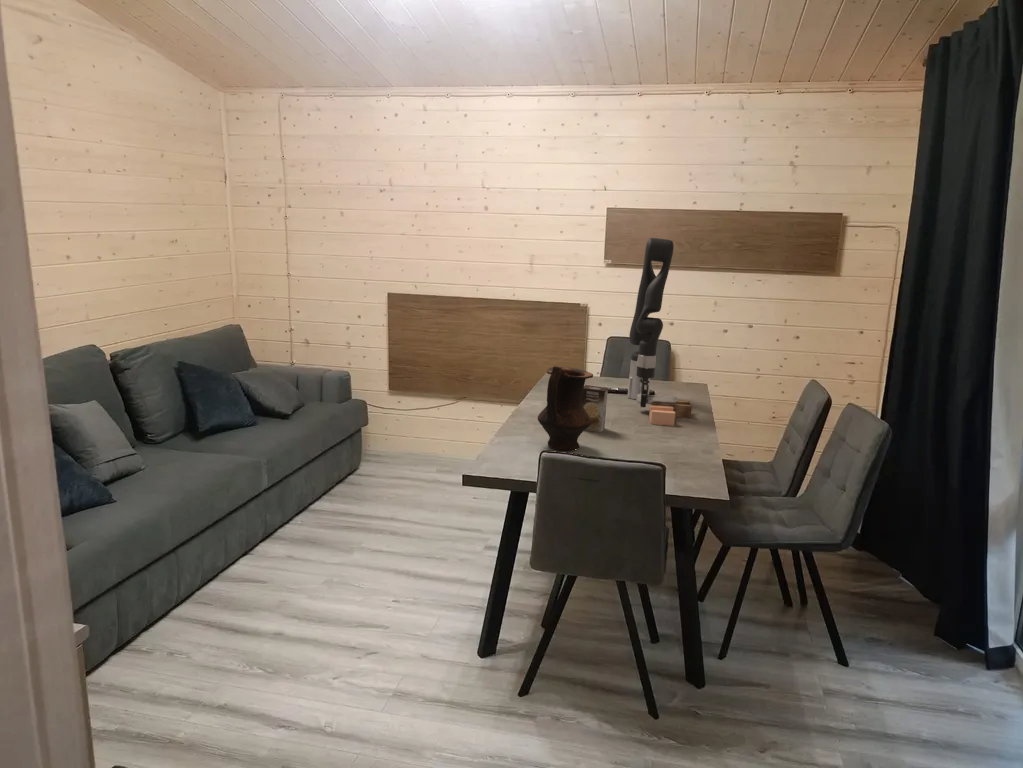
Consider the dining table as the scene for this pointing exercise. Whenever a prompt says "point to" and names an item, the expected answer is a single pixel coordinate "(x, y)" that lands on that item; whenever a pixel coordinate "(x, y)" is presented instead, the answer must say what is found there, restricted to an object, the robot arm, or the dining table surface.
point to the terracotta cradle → (662, 415)
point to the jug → (565, 408)
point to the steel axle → (657, 399)
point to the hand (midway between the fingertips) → (642, 405)
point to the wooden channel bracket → (679, 408)
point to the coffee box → (595, 406)
